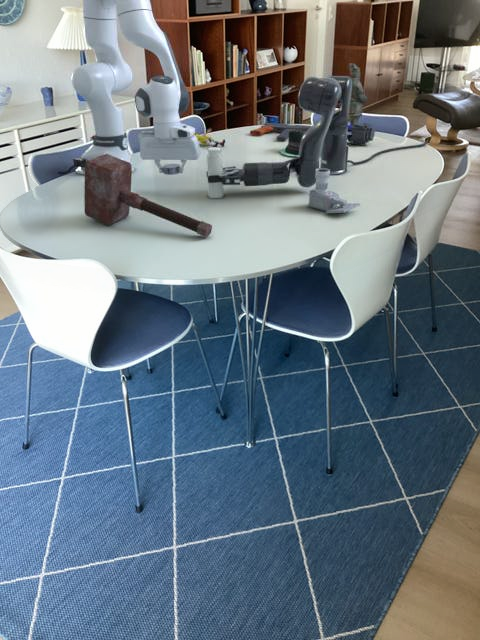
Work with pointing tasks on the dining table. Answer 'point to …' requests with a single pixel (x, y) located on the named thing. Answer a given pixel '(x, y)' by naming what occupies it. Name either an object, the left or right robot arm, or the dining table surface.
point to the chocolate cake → (294, 142)
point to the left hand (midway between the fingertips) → (171, 172)
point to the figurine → (208, 140)
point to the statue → (356, 95)
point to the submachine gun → (277, 129)
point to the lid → (171, 169)
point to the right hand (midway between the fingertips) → (207, 176)
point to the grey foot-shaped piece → (327, 195)
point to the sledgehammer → (124, 196)
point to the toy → (360, 133)
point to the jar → (215, 171)
